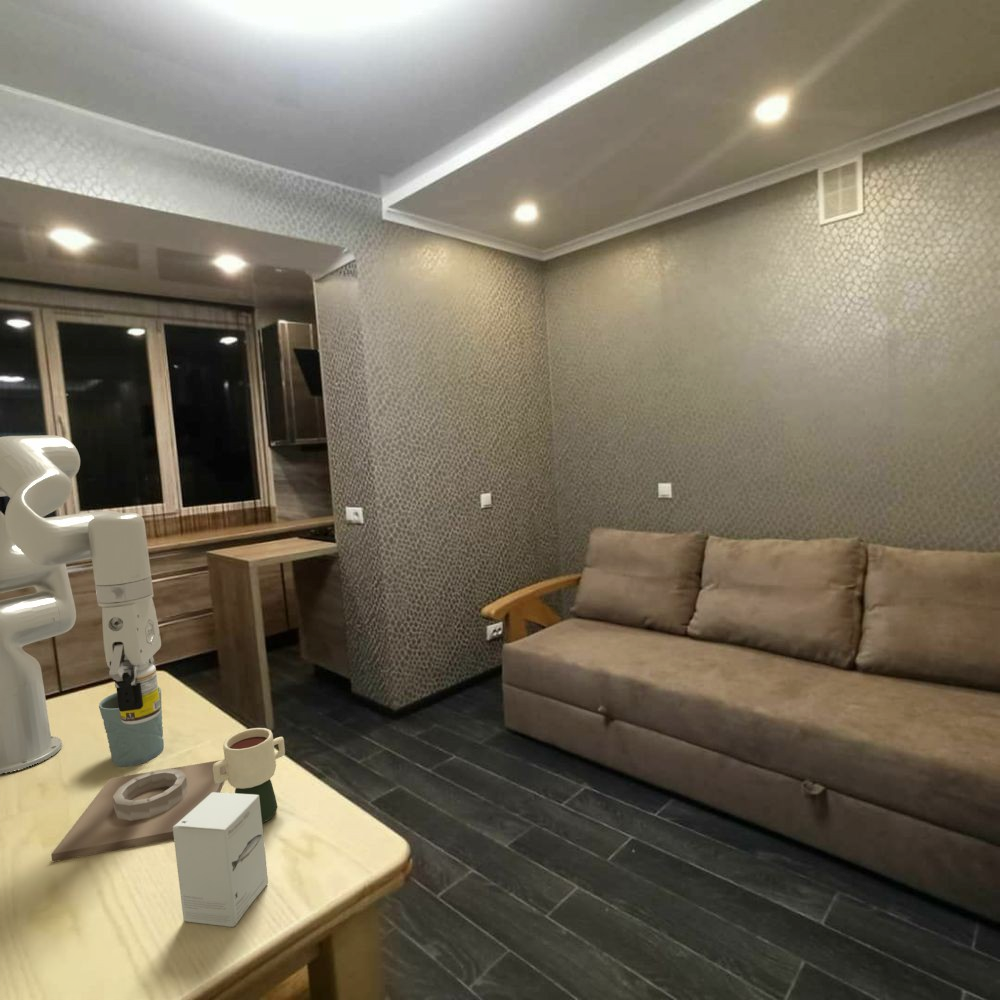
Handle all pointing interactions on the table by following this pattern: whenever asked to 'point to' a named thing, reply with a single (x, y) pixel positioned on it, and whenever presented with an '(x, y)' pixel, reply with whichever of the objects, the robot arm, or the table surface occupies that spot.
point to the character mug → (251, 766)
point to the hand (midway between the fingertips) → (139, 699)
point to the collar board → (138, 810)
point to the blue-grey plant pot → (131, 735)
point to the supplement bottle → (144, 695)
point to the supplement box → (220, 858)
